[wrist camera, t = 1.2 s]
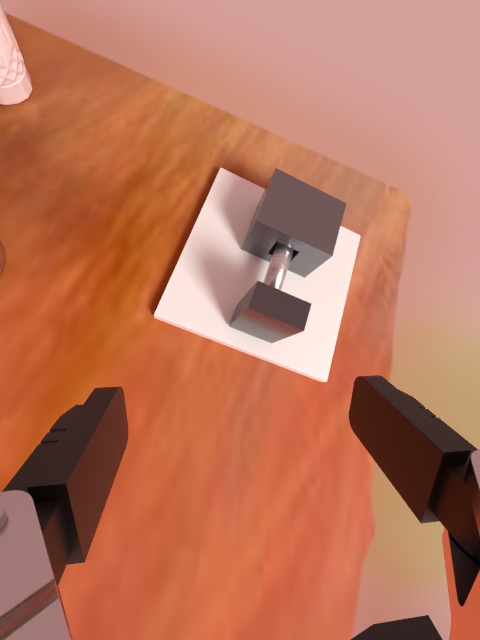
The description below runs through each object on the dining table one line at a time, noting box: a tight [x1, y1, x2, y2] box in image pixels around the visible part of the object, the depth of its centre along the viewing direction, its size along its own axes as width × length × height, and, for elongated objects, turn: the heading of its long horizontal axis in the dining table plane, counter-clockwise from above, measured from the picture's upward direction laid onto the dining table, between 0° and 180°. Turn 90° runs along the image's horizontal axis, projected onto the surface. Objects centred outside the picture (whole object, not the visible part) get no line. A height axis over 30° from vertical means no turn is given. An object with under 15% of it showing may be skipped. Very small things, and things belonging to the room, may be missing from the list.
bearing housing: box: [241, 168, 346, 278], centre depth 36 cm, size 10×8×7 cm
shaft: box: [229, 242, 311, 343], centre depth 33 cm, size 6×20×9 cm, turn 161°
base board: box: [154, 168, 360, 382], centre depth 39 cm, size 24×24×2 cm
